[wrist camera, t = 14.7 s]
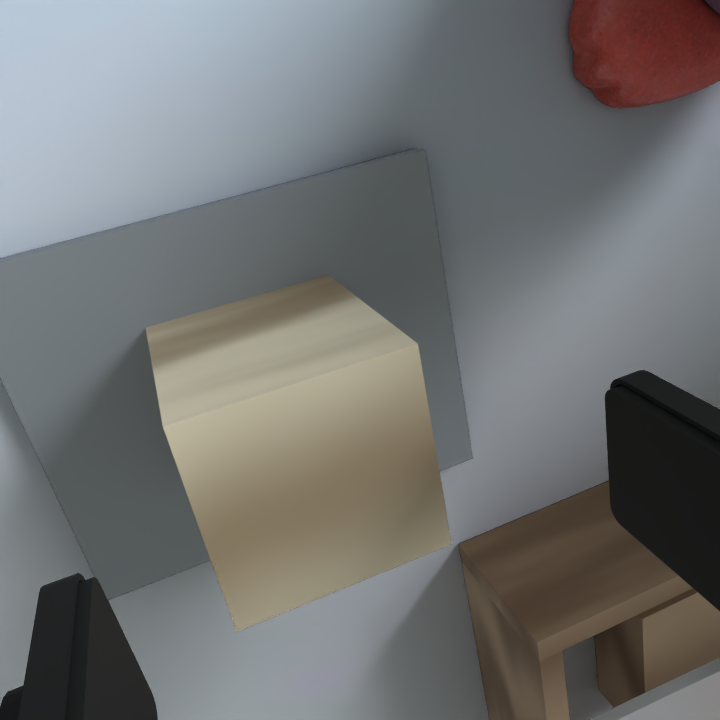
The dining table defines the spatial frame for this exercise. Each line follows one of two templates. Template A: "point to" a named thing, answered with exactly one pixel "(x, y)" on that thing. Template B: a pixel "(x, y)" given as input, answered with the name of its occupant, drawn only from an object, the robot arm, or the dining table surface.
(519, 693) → the frame
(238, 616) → the birch block
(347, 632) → the dining table surface
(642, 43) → the stacking bear
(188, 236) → the slate mat
